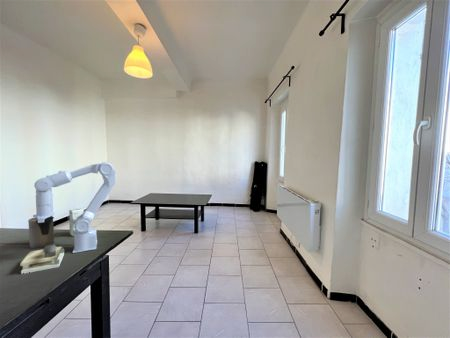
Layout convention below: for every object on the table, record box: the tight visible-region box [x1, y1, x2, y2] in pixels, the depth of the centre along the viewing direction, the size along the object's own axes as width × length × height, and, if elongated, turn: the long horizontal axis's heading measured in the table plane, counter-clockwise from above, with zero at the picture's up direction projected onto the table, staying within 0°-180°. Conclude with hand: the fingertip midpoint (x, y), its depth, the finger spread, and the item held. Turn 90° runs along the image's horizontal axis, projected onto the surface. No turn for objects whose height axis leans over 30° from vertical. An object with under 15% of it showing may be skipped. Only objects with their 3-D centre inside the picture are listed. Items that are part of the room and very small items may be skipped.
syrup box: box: [68, 207, 85, 237], centre depth 124 cm, size 6×6×14 cm
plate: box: [19, 243, 64, 267], centre depth 90 cm, size 11×12×5 cm
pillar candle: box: [27, 215, 55, 249], centre depth 110 cm, size 10×10×15 cm
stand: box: [20, 248, 65, 275], centre depth 91 cm, size 12×13×3 cm
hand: (45, 234), depth 97 cm, fingers closed
